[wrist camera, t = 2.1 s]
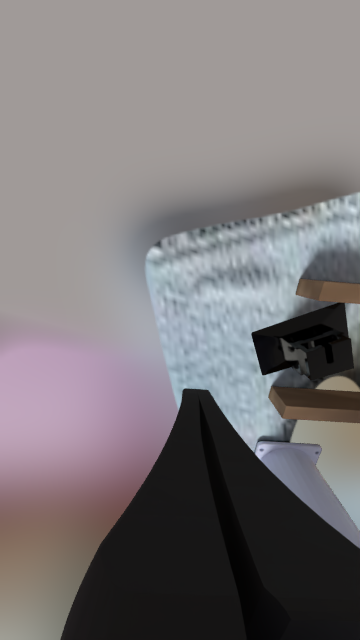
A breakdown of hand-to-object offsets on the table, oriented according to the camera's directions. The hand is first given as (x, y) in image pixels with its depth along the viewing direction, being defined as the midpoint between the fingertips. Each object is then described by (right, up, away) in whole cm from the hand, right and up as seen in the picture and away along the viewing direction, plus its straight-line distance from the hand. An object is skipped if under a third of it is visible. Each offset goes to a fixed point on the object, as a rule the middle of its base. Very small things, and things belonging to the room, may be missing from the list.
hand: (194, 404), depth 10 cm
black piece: (+12, +3, +10) cm, 16 cm away
